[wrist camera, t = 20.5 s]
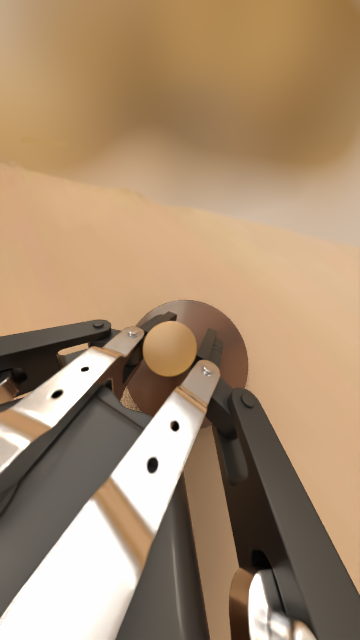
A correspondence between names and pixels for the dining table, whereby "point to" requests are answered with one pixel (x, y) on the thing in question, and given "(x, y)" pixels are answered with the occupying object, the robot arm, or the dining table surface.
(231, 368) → the lid
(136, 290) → the dining table surface
